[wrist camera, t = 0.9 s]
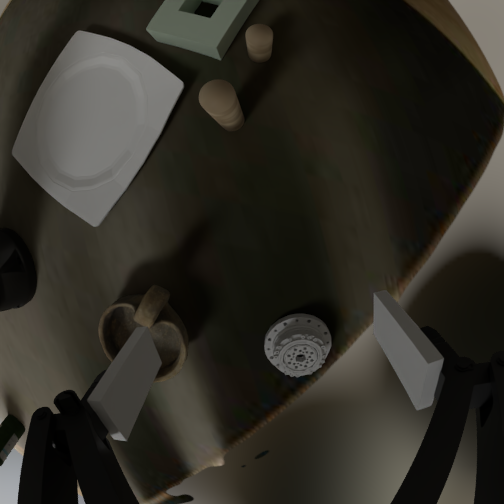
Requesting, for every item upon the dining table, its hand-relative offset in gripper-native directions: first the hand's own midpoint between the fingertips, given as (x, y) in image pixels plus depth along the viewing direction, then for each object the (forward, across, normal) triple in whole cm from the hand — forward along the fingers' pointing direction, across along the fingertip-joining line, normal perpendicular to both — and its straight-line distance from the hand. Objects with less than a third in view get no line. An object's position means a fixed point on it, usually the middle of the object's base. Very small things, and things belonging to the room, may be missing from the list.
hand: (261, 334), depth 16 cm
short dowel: (+23, +4, +24) cm, 33 cm away
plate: (+24, -21, +21) cm, 38 cm away
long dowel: (+23, -1, +15) cm, 28 cm away
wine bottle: (+23, -89, -47) cm, 103 cm away
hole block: (+23, -1, +32) cm, 39 cm away
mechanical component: (+24, +3, -17) cm, 29 cm away
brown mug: (+23, -18, -10) cm, 31 cm away
